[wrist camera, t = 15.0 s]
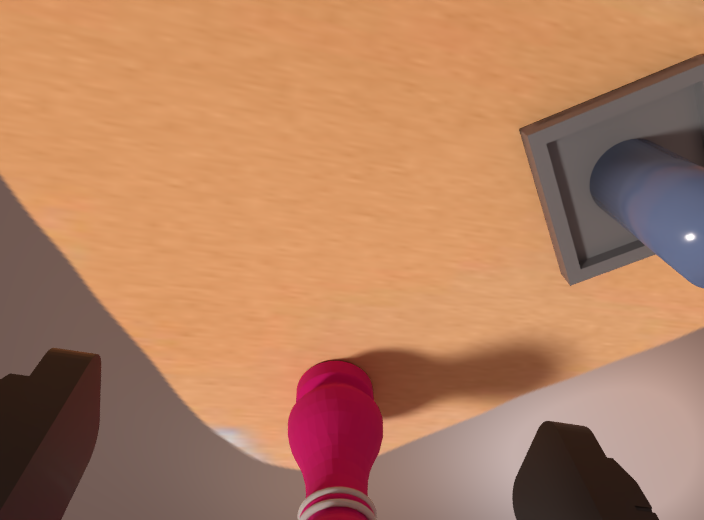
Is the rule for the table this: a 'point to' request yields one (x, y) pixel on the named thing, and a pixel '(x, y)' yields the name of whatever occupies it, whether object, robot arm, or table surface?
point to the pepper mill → (335, 441)
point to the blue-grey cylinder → (655, 201)
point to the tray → (591, 143)
